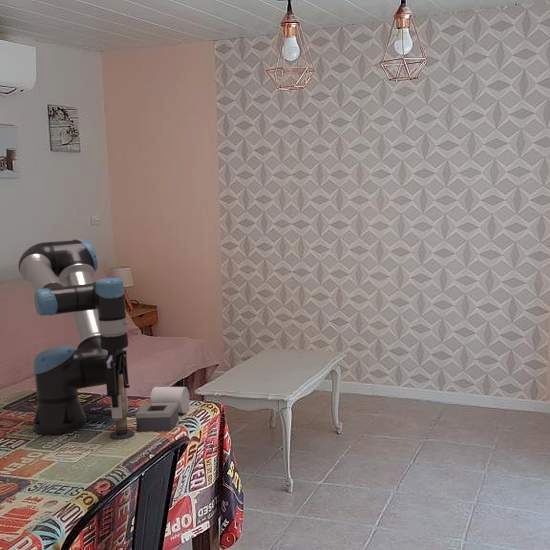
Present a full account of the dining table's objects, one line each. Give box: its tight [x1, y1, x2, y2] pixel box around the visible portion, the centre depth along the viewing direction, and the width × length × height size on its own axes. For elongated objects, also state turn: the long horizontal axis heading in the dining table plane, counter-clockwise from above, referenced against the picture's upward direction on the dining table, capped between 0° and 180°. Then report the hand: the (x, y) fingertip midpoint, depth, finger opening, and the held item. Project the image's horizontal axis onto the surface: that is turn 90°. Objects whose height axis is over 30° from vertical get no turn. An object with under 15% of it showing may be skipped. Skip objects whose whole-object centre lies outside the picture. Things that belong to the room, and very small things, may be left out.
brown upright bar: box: [114, 374, 128, 435], centre depth 211 cm, size 3×3×17 cm
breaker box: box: [135, 402, 180, 432], centre depth 219 cm, size 10×10×5 cm
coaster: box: [109, 429, 135, 441], centre depth 213 cm, size 7×7×1 cm
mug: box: [149, 386, 190, 414], centre depth 233 cm, size 12×10×8 cm
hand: (120, 414), depth 212 cm, fingers open, 5 cm apart
